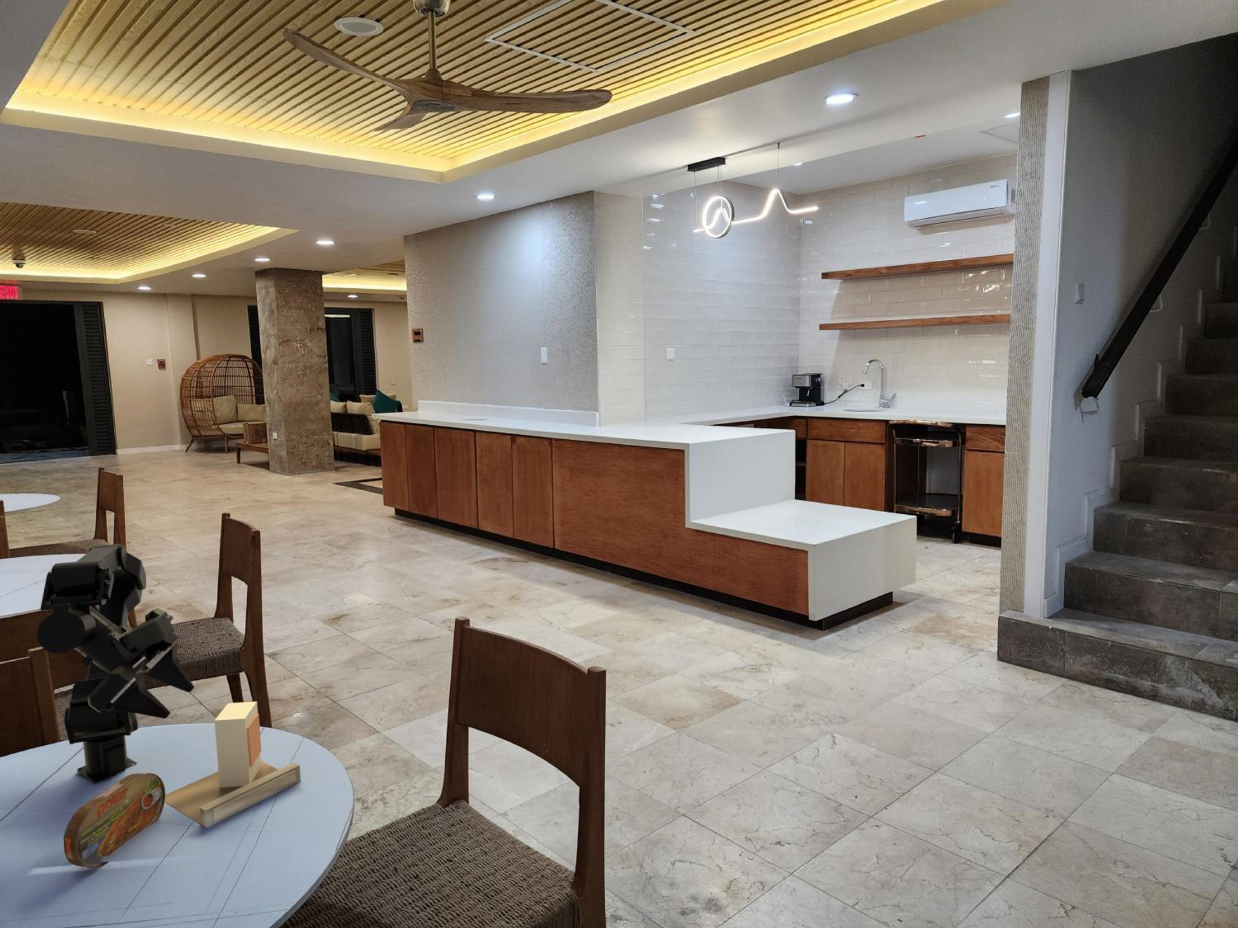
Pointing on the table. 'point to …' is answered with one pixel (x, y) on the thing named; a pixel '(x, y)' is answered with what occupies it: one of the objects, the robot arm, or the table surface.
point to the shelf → (230, 794)
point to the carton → (238, 744)
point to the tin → (113, 819)
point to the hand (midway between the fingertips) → (180, 702)
